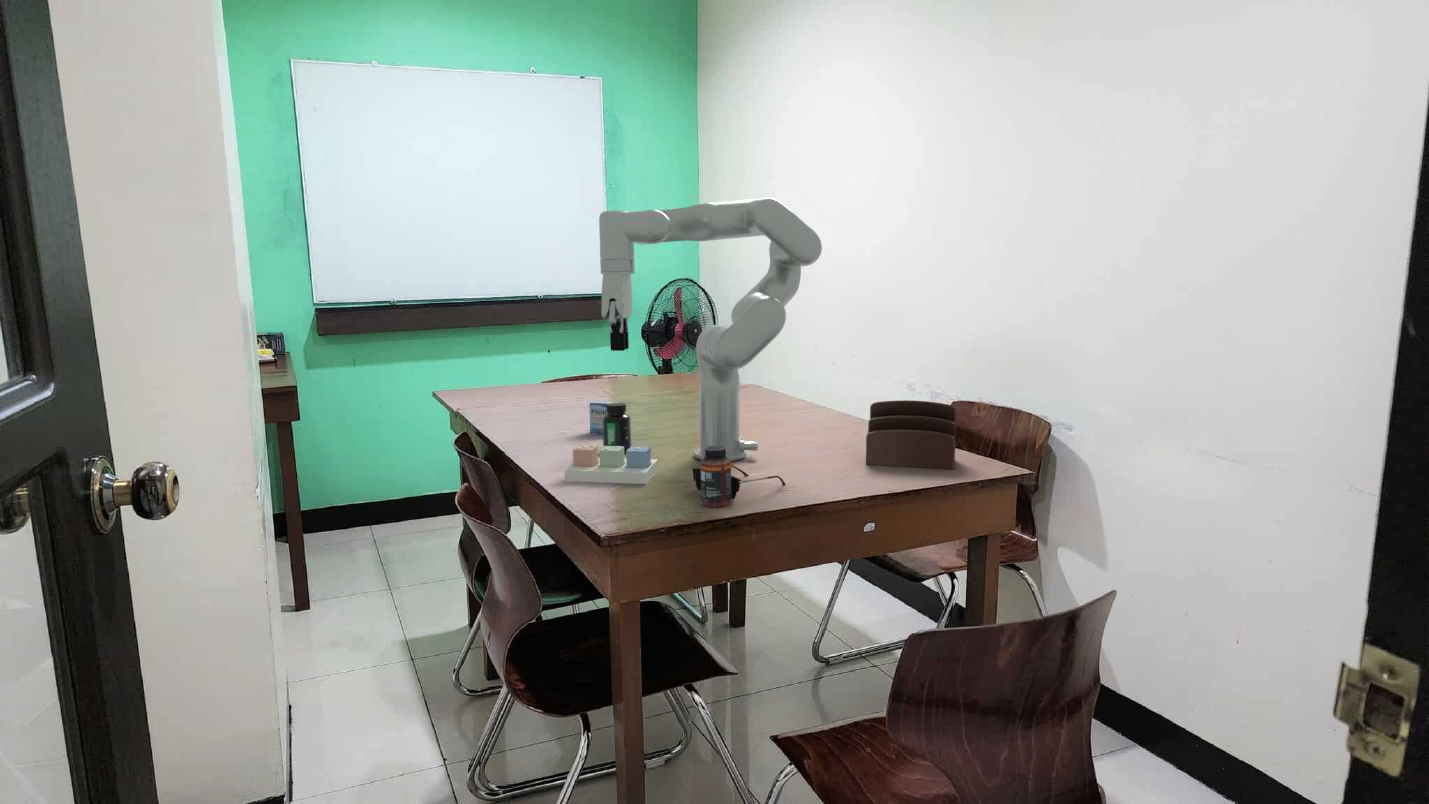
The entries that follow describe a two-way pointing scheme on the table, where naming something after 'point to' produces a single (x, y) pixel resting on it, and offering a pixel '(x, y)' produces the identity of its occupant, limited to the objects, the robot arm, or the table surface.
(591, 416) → the medicine box
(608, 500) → the table surface
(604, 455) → the pale green cube
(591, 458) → the pink three-dot die
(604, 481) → the board
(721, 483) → the supplement bottle
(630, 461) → the blue pull-out drawer
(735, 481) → the sunglasses
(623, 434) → the supplement bottle
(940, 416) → the letter holder
